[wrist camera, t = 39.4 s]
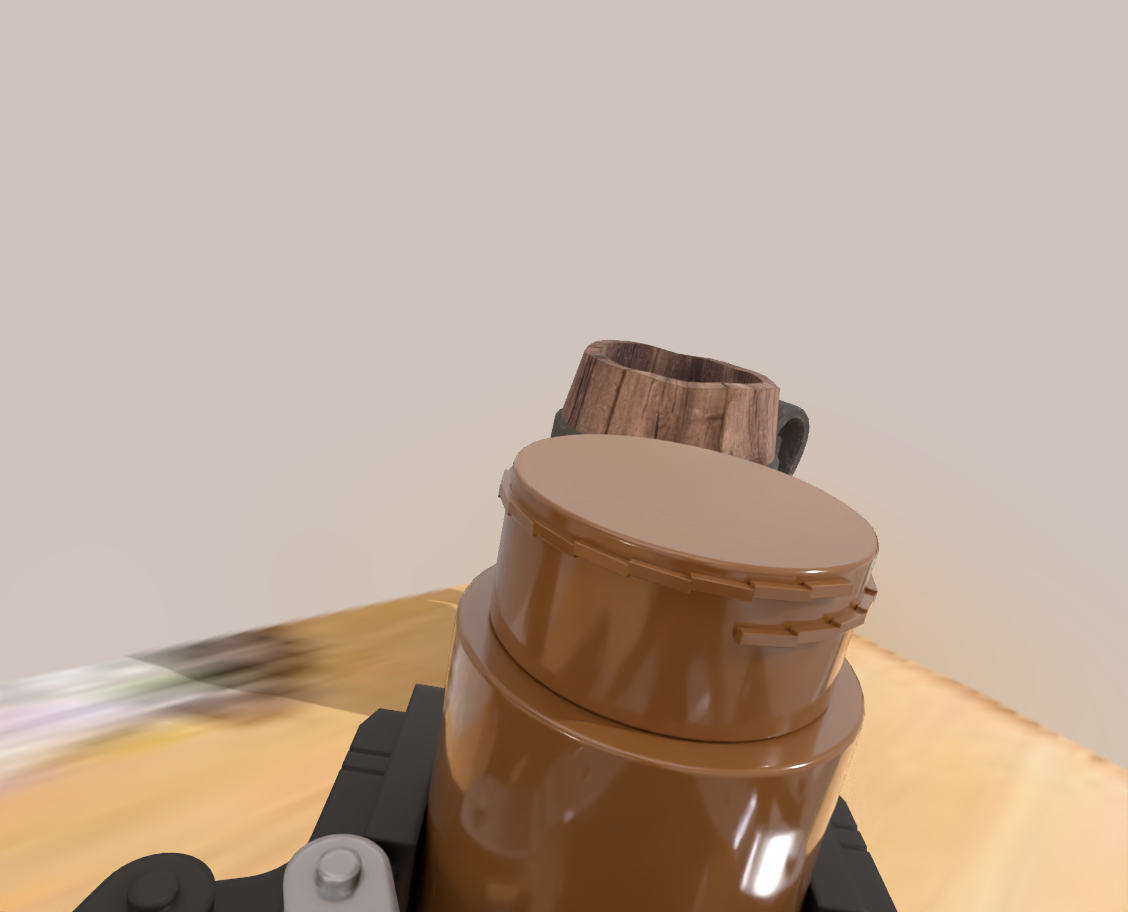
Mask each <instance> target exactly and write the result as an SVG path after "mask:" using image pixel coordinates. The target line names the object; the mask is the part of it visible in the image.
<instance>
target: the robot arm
mask: <svg viewBox="0 0 1128 912" xmlns="http://www.w3.org/2000/svg"><path fill="white" fill-rule="evenodd" d="M444 690H445V688H439V687H433V686H427V685H421V684H416V685H415V688H414V690H413V693H412V696H411V699H410V702H409V705H408V707H407V710H406V712H399V711H393V710H387V709H381V708H380V709H378V710H377V711H376V712H375V713H374V714H372V715H371V716H370V717H369V718H368V719H366V720H365V721H364V722H363V723H362V724H360V725H359V728H358V730H357V732H356V735H355V737H354V739H353V741H352V744H351V746H350V750H349V751H348V753H347V755H346V758H345V760H344V762H343V764H342V769H340V771H339V774H338V776H337V778H336V781H335V783H334V785H333V787H332V790H331V792H330V794H329V797H328V799H327V801H326V804H325V806H324V808H323V810H322V813H321V815H320V817H319V820H318V822H317V824H316V827H315V829H314V831H313V833H312V836H311V838H310V839H309V841H308V843H307V844H306V845H305V846H303V847H302V848H301V849H300V850H298V851H297V852H296V853H295V854H294V856H293V857H292V858H291V859H290V861H289V862H288V863H286V864H284V865H282V866H281V867H279V868H277V869H274V870H272V871H269V872H267V873H263V874H260V875H256V876H250V877H244V878H236V879H228V880H220V881H215V879H214V876H213V874H212V872H211V870H210V868H209V867H208V866H207V865H206V864H205V863H204V862H202V861H201V860H199V859H197V858H195V857H193V856H190V855H186V854H181V853H161V854H154V855H150V856H146V857H142V858H140V859H137V860H135V861H132V862H130V863H128V864H126V865H124V866H123V867H121V868H120V869H118V870H117V871H115V872H114V873H112V874H111V875H110V876H109V877H108V878H107V879H105V880H104V881H103V882H102V883H101V884H100V885H99V886H98V887H97V888H96V889H95V890H94V891H93V892H92V893H91V894H90V895H89V896H88V897H87V898H86V899H85V900H84V901H83V902H82V903H81V904H80V905H79V906H78V907H77V908H76V909H75V910H74V911H73V912H411V906H412V899H413V893H414V886H415V880H416V873H417V867H418V860H419V854H420V847H421V840H422V834H423V827H424V821H425V814H426V808H427V801H428V795H429V788H430V782H431V775H432V769H433V762H434V756H435V749H436V743H437V736H438V730H439V723H440V717H441V710H442V703H443V697H444ZM800 912H897V910H896V908H895V906H894V903H893V901H892V899H891V897H890V895H889V893H888V891H887V889H886V887H885V884H884V882H883V880H882V878H881V876H880V874H879V872H878V870H877V867H876V865H875V863H874V861H873V859H872V857H871V855H870V853H869V852H867V846H866V844H865V842H864V840H863V838H862V836H861V833H860V832H859V831H857V825H856V823H855V821H854V819H853V816H852V814H851V812H850V810H849V808H848V806H847V804H846V802H845V801H844V800H843V799H842V798H841V797H840V796H839V797H838V800H837V803H836V806H835V809H834V812H833V815H832V818H831V821H830V824H829V827H828V830H827V833H826V836H825V839H824V842H823V845H822V848H821V851H820V854H819V857H818V860H817V863H816V865H815V868H814V871H813V874H812V877H811V880H810V883H809V886H808V889H807V892H806V895H805V898H804V901H803V904H802V907H801V910H800Z"/></svg>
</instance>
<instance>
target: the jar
mask: <svg viewBox="0 0 1128 912" xmlns="http://www.w3.org/2000/svg"><path fill="white" fill-rule="evenodd" d="M498 497H500V498H501V500H502V503H503V505H504V507H505V516H504V521H503V527H502V534H501V539H500V545H499V551H498V557H497V563H496V564H495V565H493V566H492V567H490V568H488V569H487V570H485V571H483V572H482V573H481V574H480V575H478V576H477V577H476V578H475V579H474V580H473V581H472V582H471V583H470V585H469V586H468V587H467V588H466V590H465V591H464V593H463V595H462V597H461V599H460V601H459V603H458V607H457V613H456V619H455V625H454V632H453V638H452V645H451V651H450V658H449V664H448V671H447V677H446V684H445V690H444V697H443V703H442V710H441V717H440V723H439V730H438V736H437V743H436V749H435V756H434V762H433V769H432V775H431V782H430V788H429V795H428V801H427V808H426V814H425V821H424V827H423V834H422V840H421V847H420V854H419V860H418V867H417V873H416V880H415V886H414V893H413V899H412V906H411V912H800V910H801V907H802V904H803V901H804V898H805V895H806V892H807V889H808V886H809V883H810V880H811V877H812V874H813V871H814V868H815V865H816V863H817V860H818V857H819V854H820V851H821V848H822V845H823V842H824V839H825V836H826V833H827V830H828V827H829V824H830V821H831V818H832V815H833V812H834V809H835V806H836V803H837V800H838V797H839V794H840V791H841V788H842V785H843V782H844V779H845V776H846V773H847V770H848V768H849V765H850V762H851V759H852V756H853V753H854V750H855V747H856V744H857V741H858V738H859V735H860V732H861V729H862V725H863V720H864V716H865V708H864V696H863V692H862V689H861V686H860V682H859V680H858V678H857V676H856V674H855V672H854V670H853V668H852V666H851V665H850V664H849V662H848V661H847V660H846V658H845V654H846V651H847V648H848V645H849V641H850V638H851V635H852V632H853V629H854V628H856V627H858V626H860V625H862V624H864V621H865V618H866V617H867V615H868V613H869V611H870V609H871V607H872V606H873V604H874V601H875V597H876V594H877V589H876V585H875V583H874V580H873V577H872V574H871V573H872V569H873V566H874V563H875V560H876V557H877V554H878V551H879V546H878V539H877V536H876V533H875V532H874V530H873V528H872V527H871V526H870V524H869V523H868V522H867V521H866V520H865V519H864V518H863V517H862V516H861V515H859V514H858V513H857V512H856V511H855V510H853V509H852V508H850V507H849V506H847V505H846V504H845V503H843V502H841V501H840V500H838V499H837V498H835V497H833V496H832V495H830V494H828V493H826V492H824V491H822V490H821V489H819V488H817V487H815V486H813V485H811V484H808V483H806V482H804V481H802V480H799V479H797V478H795V477H792V476H790V475H788V474H785V473H783V472H780V471H777V470H775V469H772V468H769V467H766V466H764V465H760V464H757V463H754V462H751V461H748V460H745V459H742V458H738V457H735V456H731V455H728V454H724V453H720V452H716V451H712V450H708V449H704V448H700V447H695V446H691V445H686V444H680V443H675V442H670V441H663V440H657V439H650V438H642V437H634V436H623V435H606V434H581V435H567V436H559V437H553V438H548V439H543V440H540V441H537V442H534V443H532V444H530V445H528V446H526V447H525V448H523V449H522V450H521V451H520V452H519V453H518V455H517V456H516V458H515V461H514V462H513V467H511V468H510V469H509V470H505V471H504V475H503V478H502V481H501V484H500V489H499V495H498Z"/></svg>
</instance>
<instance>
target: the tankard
mask: <svg viewBox="0 0 1128 912" xmlns="http://www.w3.org/2000/svg"><path fill="white" fill-rule="evenodd" d="M779 392H780V388H779V387H777V386H776V385H775V384H774V383H773V382H772V381H771V380H770V379H768V378H767V377H766V376H764V375H761V374H759V373H757V372H754V371H751V370H747V369H744V368H741V367H738V366H734V365H732V364H729V363H726V362H722V361H718V360H714V359H710V358H702V357H696V356H689V355H683V354H677V353H674V352H671V351H667V350H664V349H661V348H657V347H654V346H650V345H647V344H642V343H637V342H630V341H617V340H602V341H596V342H594V343H592V344H591V345H589V346H588V347H587V348H586V350H585V351H584V354H583V357H582V359H581V362H580V364H579V367H578V370H577V373H576V375H575V378H574V380H573V383H572V385H571V388H570V391H569V393H568V396H567V399H566V401H565V404H564V407H563V408H562V409H560V410H559V411H558V412H557V413H556V415H555V420H554V425H553V429H552V433H551V438H553V437H559V436H567V435H581V434H606V435H623V436H634V437H642V438H650V439H657V440H663V441H670V442H675V443H680V444H686V445H691V446H695V447H700V448H704V449H708V450H712V451H716V452H720V453H724V454H728V455H731V456H735V457H738V458H742V459H745V460H748V461H751V462H754V463H757V464H760V465H764V466H766V467H769V468H772V469H775V470H777V471H780V472H783V473H785V474H788V475H790V476H792V475H793V474H794V472H795V469H796V468H797V465H798V463H799V461H800V459H801V457H802V454H803V452H804V448H805V446H806V442H807V439H808V433H809V419H808V417H807V415H806V413H805V411H804V410H803V409H801V408H799V407H798V406H795V405H792V404H789V403H786V402H783V401H781V400H779Z"/></svg>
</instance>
